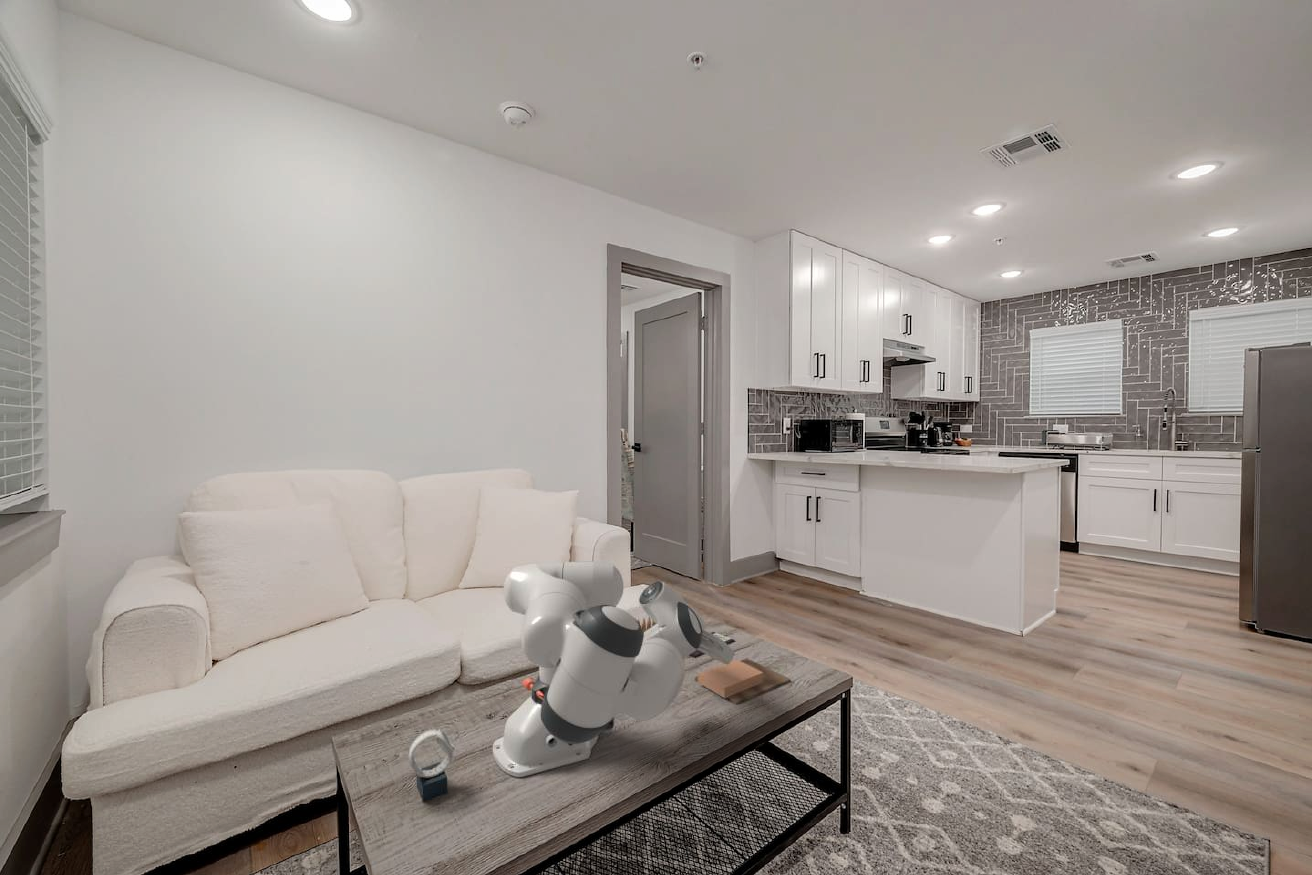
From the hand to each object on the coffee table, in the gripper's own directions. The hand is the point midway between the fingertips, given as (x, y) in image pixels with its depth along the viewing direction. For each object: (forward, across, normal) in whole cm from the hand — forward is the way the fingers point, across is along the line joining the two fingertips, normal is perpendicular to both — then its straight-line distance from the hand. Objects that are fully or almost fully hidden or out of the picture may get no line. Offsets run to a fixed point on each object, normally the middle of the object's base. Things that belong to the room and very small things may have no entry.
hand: (715, 655), depth 142 cm
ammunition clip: (+4, +26, +9) cm, 28 cm away
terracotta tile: (+3, -1, +6) cm, 7 cm away
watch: (-43, +4, +55) cm, 70 cm away
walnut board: (+13, -1, 0) cm, 13 cm away
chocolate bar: (+19, +23, -5) cm, 30 cm away
